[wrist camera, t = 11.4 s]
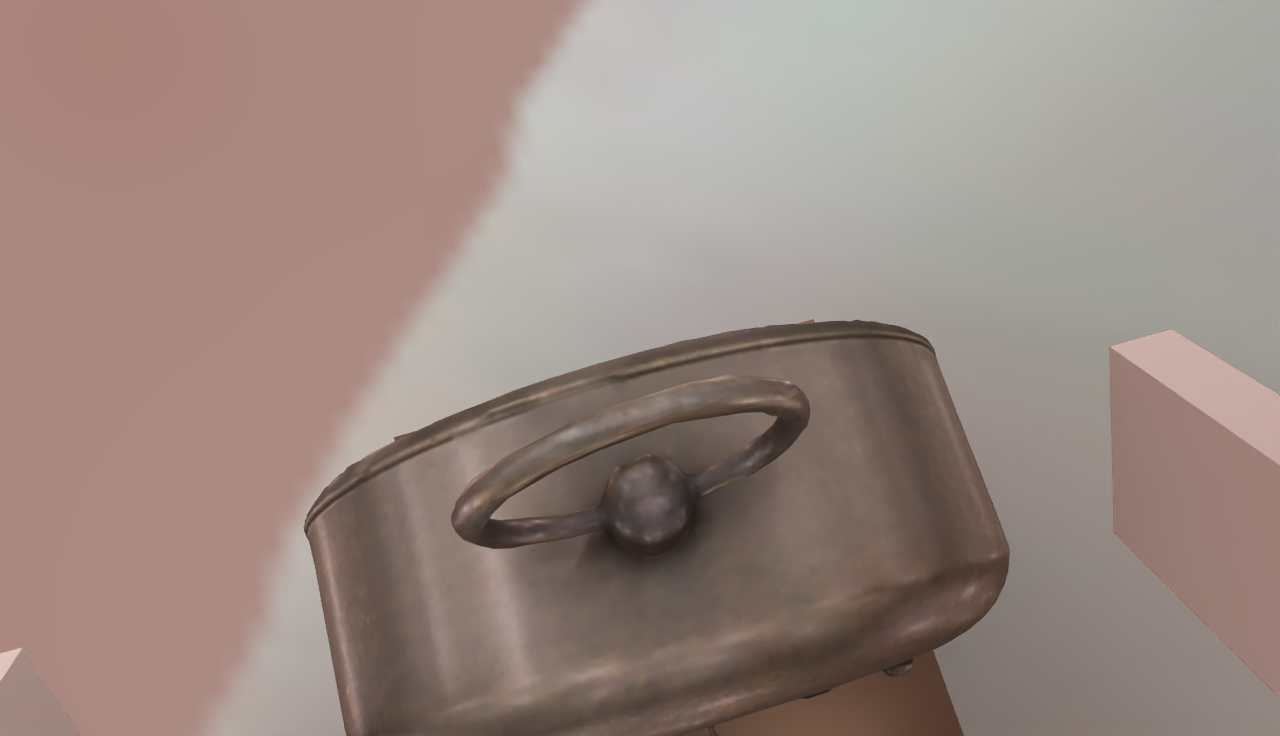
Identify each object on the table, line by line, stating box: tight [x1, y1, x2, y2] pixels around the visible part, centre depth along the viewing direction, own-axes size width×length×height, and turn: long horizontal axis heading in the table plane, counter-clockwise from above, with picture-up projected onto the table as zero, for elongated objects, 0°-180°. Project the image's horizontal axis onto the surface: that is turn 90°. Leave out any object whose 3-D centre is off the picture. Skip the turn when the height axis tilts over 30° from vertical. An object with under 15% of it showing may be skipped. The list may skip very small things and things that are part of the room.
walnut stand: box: [394, 319, 963, 736], centre depth 25 cm, size 11×12×5 cm
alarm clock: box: [304, 320, 1010, 736], centre depth 15 cm, size 11×5×16 cm, turn 105°
